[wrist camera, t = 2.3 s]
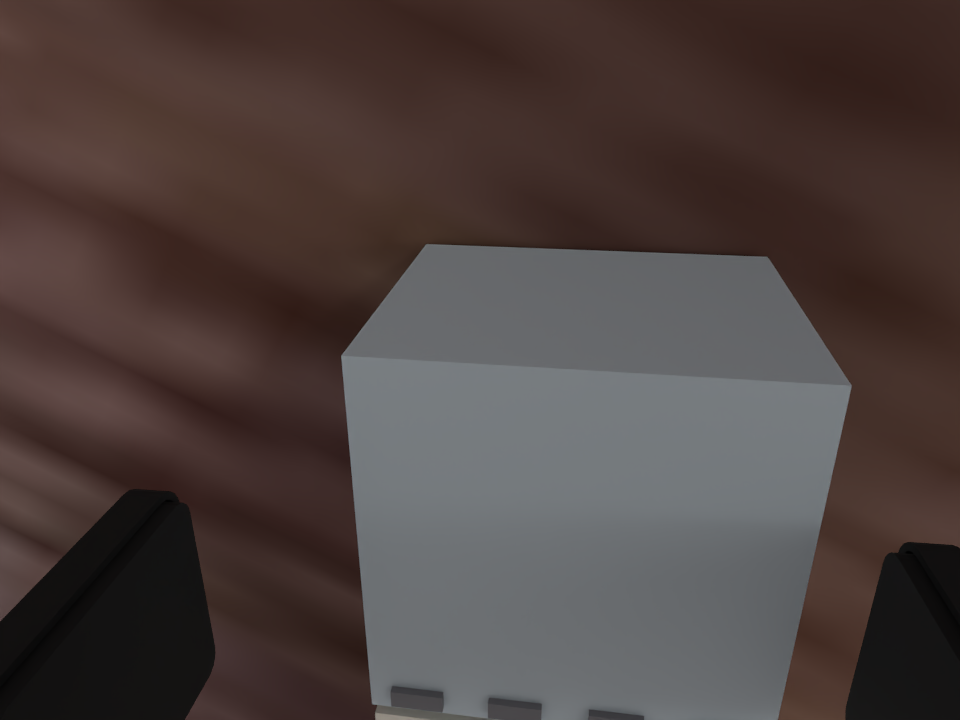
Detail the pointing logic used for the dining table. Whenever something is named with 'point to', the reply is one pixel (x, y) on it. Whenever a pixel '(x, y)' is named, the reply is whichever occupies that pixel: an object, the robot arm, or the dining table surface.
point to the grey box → (588, 483)
